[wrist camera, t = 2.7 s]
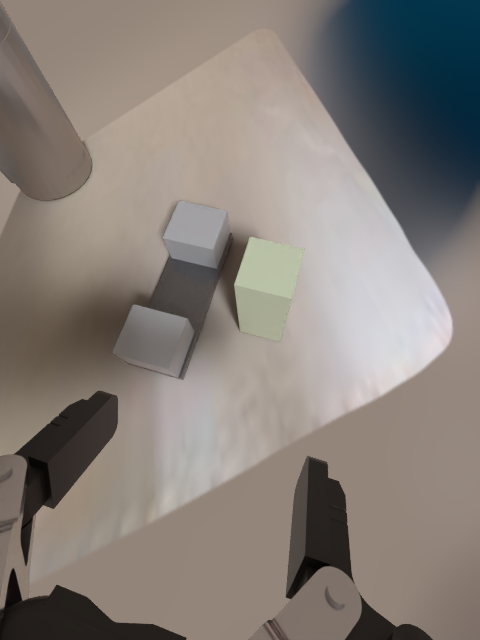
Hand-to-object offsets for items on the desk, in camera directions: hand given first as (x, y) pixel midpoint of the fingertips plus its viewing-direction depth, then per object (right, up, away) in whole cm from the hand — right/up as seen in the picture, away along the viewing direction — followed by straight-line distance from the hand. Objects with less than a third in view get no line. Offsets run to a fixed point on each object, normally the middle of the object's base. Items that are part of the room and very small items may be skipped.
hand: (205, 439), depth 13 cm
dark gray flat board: (-4, +7, +20) cm, 21 cm away
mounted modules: (-4, +7, +20) cm, 21 cm away
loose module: (+4, +5, +19) cm, 20 cm away
